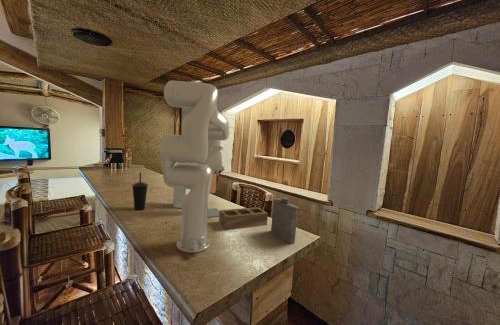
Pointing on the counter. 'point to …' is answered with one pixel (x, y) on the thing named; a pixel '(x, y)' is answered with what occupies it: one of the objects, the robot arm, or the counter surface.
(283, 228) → the flask
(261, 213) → the wooden compartment box
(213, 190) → the peg
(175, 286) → the counter surface
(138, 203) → the drinking cup
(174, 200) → the supplement box
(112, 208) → the counter surface
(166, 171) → the robot arm
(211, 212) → the mat
